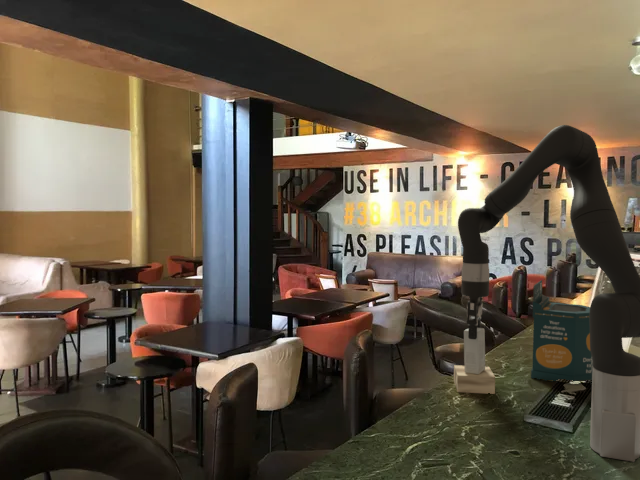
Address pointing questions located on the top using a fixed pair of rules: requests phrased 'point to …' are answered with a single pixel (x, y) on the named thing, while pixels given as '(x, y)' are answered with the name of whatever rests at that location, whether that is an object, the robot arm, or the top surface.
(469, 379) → the birch block
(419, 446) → the top surface
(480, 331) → the skincare box
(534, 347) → the donation box
